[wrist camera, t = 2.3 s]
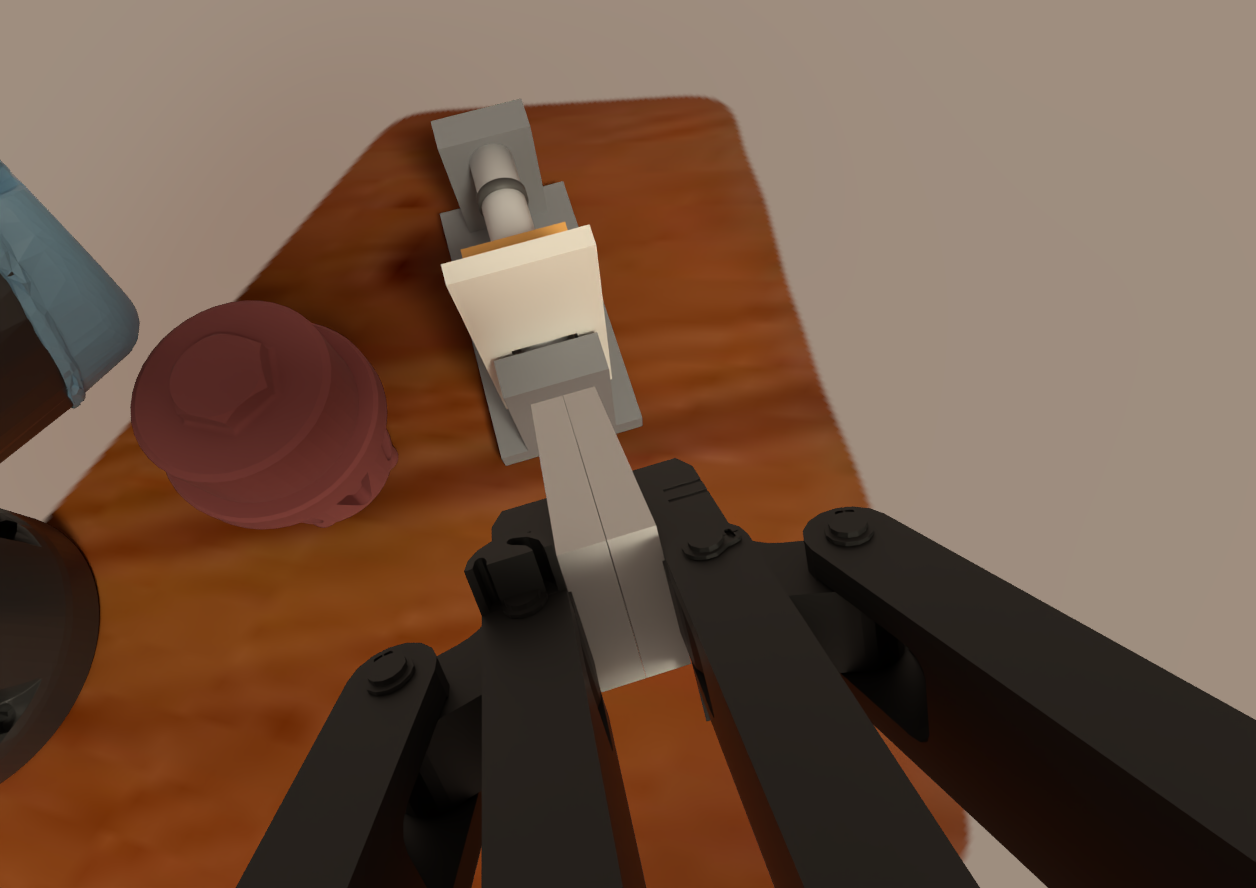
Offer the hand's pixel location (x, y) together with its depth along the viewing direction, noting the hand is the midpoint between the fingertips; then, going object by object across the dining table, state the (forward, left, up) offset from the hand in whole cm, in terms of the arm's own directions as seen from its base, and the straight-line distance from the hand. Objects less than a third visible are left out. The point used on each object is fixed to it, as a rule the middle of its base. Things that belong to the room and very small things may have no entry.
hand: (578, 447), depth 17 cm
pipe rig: (0, +17, -22) cm, 28 cm away
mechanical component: (-13, +11, -22) cm, 28 cm away
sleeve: (0, +13, -20) cm, 23 cm away
